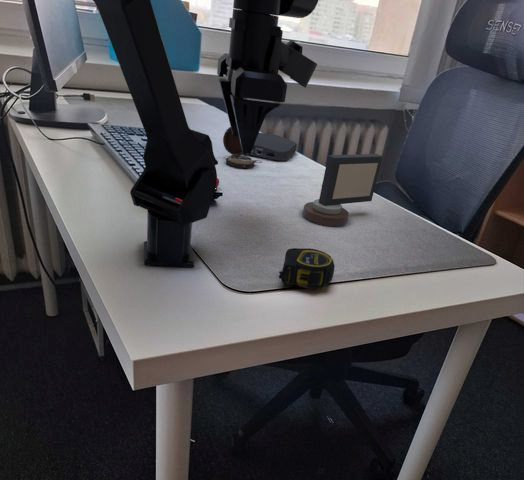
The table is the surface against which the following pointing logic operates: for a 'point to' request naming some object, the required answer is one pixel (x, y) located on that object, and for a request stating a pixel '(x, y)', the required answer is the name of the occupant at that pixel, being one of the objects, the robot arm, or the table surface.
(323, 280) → the tape measure
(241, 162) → the compass
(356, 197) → the frame
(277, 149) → the media streaming box
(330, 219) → the swivel stand
